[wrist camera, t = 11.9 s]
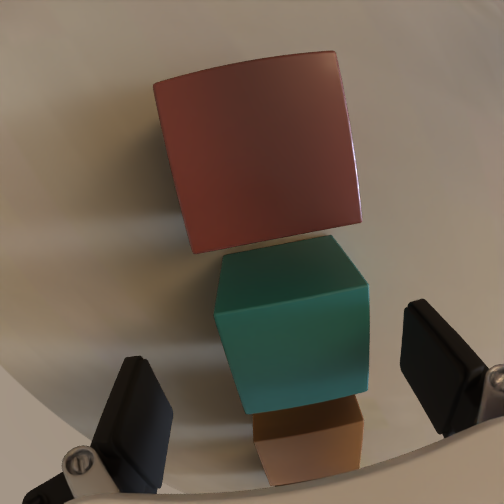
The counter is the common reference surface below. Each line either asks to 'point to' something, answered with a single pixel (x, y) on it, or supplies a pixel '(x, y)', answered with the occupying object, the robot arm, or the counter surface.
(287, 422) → the oak block
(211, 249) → the dark cherry block
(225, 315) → the teal block
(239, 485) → the counter surface
